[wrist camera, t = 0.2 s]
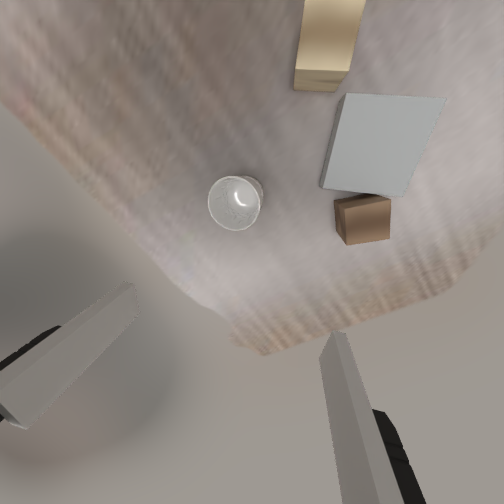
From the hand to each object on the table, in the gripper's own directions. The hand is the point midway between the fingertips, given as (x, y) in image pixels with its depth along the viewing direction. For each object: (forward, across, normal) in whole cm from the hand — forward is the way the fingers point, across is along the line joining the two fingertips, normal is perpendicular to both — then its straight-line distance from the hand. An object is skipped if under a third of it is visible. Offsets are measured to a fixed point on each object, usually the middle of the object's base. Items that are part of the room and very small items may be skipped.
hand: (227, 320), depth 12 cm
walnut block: (+28, +15, +3) cm, 32 cm away
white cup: (+28, -5, +3) cm, 28 cm away
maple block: (+28, +3, +23) cm, 36 cm away
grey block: (+28, +14, +13) cm, 34 cm away
